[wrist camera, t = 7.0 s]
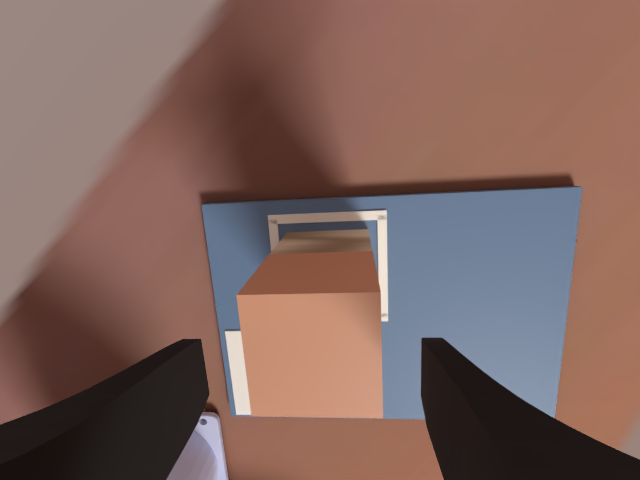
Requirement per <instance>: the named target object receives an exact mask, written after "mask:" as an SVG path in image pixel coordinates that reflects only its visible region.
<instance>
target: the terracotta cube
mask: <svg viewBox="0 0 640 480" xmlns="http://www.w3.org/2000/svg"><path fill="white" fill-rule="evenodd" d="M236 297H237V305H238V313H239V321H240V329H241V337H242V345H243V353H244V361H245V369H246V377H247V385H248V393H249V401H250V409H251V416H269V417H332V418H383V382H382V329H381V291H380V285H379V280H378V275H377V270H376V265H375V259H374V254H373V251H356V252H324V253H293V254H269V255H268V256H267V257H266V259H265V260H264V261H263V262H262V264H261V265H260V266H259V267H258V269H257V270H256V271H255V272H254V274H253V275H252V276H251V277H250V279H249V280H248V281H247V282H246V284H245V285H244V286H243V287H242V289H241V290H240V291H239V292H238V294H237V295H236Z"/></svg>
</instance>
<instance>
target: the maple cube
mask: <svg viewBox="0 0 640 480" xmlns="http://www.w3.org/2000/svg"><path fill="white" fill-rule="evenodd" d="M356 251H372V246H371V241H370V236H369V230H368V229H354V230H327V231H301V232H287V233H286V234H285V235H284V237H283V238H282V239H281V240H280V242H279V243H278V244H277V246H276V247H275V248H274V249H273V251H272V252H271V253H270V254H293V253H324V252H356Z"/></svg>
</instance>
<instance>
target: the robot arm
mask: <svg viewBox="0 0 640 480" xmlns="http://www.w3.org/2000/svg"><path fill="white" fill-rule="evenodd" d="M208 396H209V388H208V381H207V375H206V368H205V362H204V356H203V349H202V343H201V339H182V340H180V341H178V342H175V343H173V344H171V345H169V346H167V347H165V348H164V349H162V350H160V351H158V352H156V353H154V354H153V355H151V356H149V357H147V358H145V359H143V360H142V361H140V362H138V363H136V364H134V365H133V366H131V367H129V368H127V369H125V370H124V371H122V372H120V373H118V374H116V375H114V376H112V377H110V378H108V379H106V380H104V381H102V382H100V383H98V384H96V385H95V386H93V387H91V388H89V389H87V390H84V391H82V392H80V393H78V394H76V395H74V396H72V397H69V398H67V399H65V400H63V401H60V402H58V403H56V404H53V405H51V406H49V407H46V408H44V409H41V410H39V411H36V412H34V413H31V414H28V415H25V416H23V417H20V418H17V419H15V420H12V421H9V422H7V423H4V424H1V425H0V480H229V478H228V472H227V465H226V459H225V452H224V445H223V439H222V432H221V425H220V419H219V416H218V415H217V414H216V413H214V412H203V409H204V407H205V404H206V402H207V399H208ZM421 400H422V405H423V410H424V415H425V420H426V425H427V429H428V432H429V435H430V438H431V441H432V444H433V448H434V451H435V454H436V457H437V460H438V463H439V466H440V469H441V472H442V475H443V478H444V480H640V460H639V459H637V458H634V457H632V456H630V455H628V454H625V453H623V452H621V451H619V450H616V449H614V448H612V447H610V446H608V445H605V444H603V443H601V442H599V441H597V440H595V439H593V438H591V437H589V436H587V435H585V434H583V433H581V432H579V431H577V430H575V429H573V428H571V427H569V426H567V425H565V424H564V423H562V422H560V421H558V420H556V419H554V418H553V417H551V416H549V415H548V414H546V413H544V412H543V411H541V410H539V409H538V408H536V407H534V406H533V405H531V404H529V403H528V402H526V401H524V400H523V399H521V398H520V397H518V396H517V395H515V394H514V393H512V392H511V391H510V390H508V389H507V388H505V387H504V386H502V385H501V384H500V383H498V382H497V381H495V380H494V379H493V378H491V377H490V376H489V375H487V374H486V373H485V372H483V371H482V370H481V369H480V368H478V367H477V366H476V365H475V364H473V363H472V362H471V361H470V360H469V359H467V358H466V357H465V356H464V355H463V354H461V353H460V352H459V351H458V350H457V349H455V348H454V347H453V346H452V345H451V344H450V343H448V342H447V341H446V340H445V339H443V338H421ZM203 419H205V420H206V421H204V420H203Z"/></svg>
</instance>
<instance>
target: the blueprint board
mask: <svg viewBox="0 0 640 480" xmlns="http://www.w3.org/2000/svg"><path fill="white" fill-rule="evenodd" d="M581 194H582V187H579V186H561V187H539V188H518V189H497V190H476V191H454V192H433V193H412V194H391V195H369V196H348V197H327V198H306V199H285V200H263V201H242V202H221V203H205V204H202V212H203V219H204V226H205V233H206V241H207V248H208V255H209V262H210V269H211V276H212V283H213V290H214V297H215V304H216V312H217V319H218V326H219V333H220V340H221V347H222V354H223V361H224V368H225V375H226V383H227V390H228V397H229V404H230V411H231V416H251V409H250V401H249V393H248V385H247V377H246V369H245V361H244V353H243V345H242V337H241V329H240V321H239V313H238V305H237V297H236V295H237V294H238V292H239V291H240V290H241V289H242V287H243V286H244V285H245V284H246V282H247V281H248V280H249V279H250V277H251V276H252V275H253V274H254V272H255V271H256V270H257V269H258V267H259V266H260V265H261V264H262V262H263V261H264V260H265V259H266V257H267V256H268V255H269V254H270V253H271V252H272V251H273V249H274V248H275V247H276V246H277V244H278V243H279V242H280V240H281V239H282V238H283V237H284V235H285V234H286V233H287V232H301V231H327V230H354V229H368V230H369V236H370V241H371V246H372V251H373V254H374V259H375V265H376V270H377V275H378V280H379V285H380V291H381V329H382V382H383V418H374V419H425V415H424V410H423V405H422V400H421V338H443V339H445V340H446V341H447V342H448V343H450V344H451V345H452V346H453V347H454V348H455V349H457V350H458V351H459V352H460V353H461V354H463V355H464V356H465V357H466V358H467V359H469V360H470V361H471V362H472V363H473V364H475V365H476V366H477V367H478V368H480V369H481V370H482V371H483V372H485V373H486V374H487V375H489V376H490V377H491V378H493V379H494V380H495V381H497V382H498V383H500V384H501V385H502V386H504V387H505V388H507V389H508V390H510V391H511V392H512V393H514V394H515V395H517V396H518V397H520V398H521V399H523V400H524V401H526V402H528V403H529V404H531V405H533V406H534V407H536V408H538V409H539V410H541V411H543V412H544V413H546V414H548V415H549V416H551V417H553V418H554V419H555V411H556V402H557V394H558V386H559V377H560V369H561V361H562V352H563V344H564V336H565V327H566V319H567V311H568V303H569V294H570V286H571V278H572V269H573V261H574V253H575V244H576V236H577V228H578V219H579V211H580V203H581ZM254 417H269V416H254ZM314 418H332V417H314Z"/></svg>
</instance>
